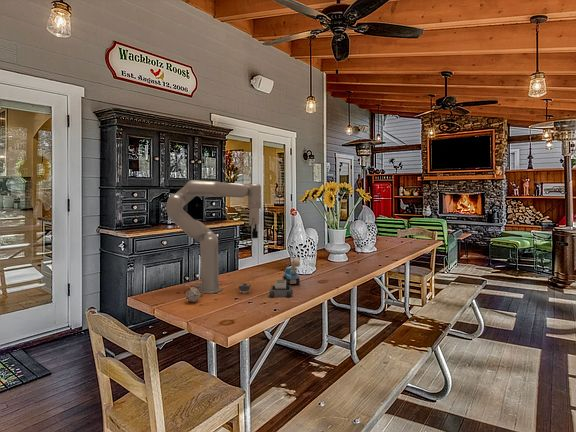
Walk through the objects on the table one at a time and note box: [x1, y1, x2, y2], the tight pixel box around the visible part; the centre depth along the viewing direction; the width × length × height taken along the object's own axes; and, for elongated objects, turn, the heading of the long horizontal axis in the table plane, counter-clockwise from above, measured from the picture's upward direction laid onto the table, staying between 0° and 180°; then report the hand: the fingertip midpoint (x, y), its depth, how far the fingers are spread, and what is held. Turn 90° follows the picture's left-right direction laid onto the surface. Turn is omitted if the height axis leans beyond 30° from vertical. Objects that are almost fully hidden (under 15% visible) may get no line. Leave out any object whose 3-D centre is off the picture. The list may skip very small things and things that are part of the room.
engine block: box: [274, 279, 286, 290], centre depth 204 cm, size 6×5×6 cm
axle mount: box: [239, 290, 250, 295], centre depth 207 cm, size 5×5×4 cm
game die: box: [183, 285, 203, 304], centre depth 191 cm, size 9×8×10 cm
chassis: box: [267, 284, 294, 298], centre depth 205 cm, size 13×13×3 cm
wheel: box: [238, 283, 251, 291], centre depth 207 cm, size 6×6×2 cm
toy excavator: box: [281, 257, 301, 285], centre depth 222 cm, size 9×17×17 cm, turn 15°
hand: (254, 237), depth 213 cm, fingers closed
